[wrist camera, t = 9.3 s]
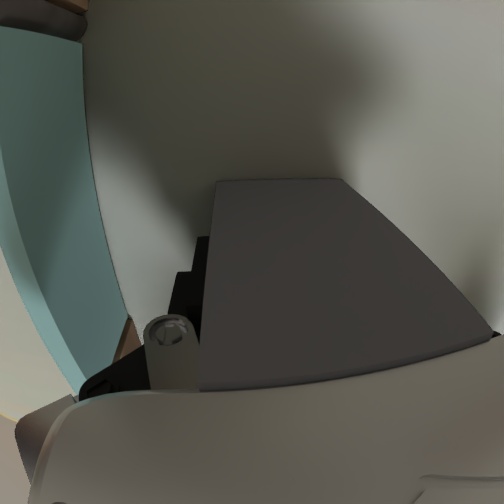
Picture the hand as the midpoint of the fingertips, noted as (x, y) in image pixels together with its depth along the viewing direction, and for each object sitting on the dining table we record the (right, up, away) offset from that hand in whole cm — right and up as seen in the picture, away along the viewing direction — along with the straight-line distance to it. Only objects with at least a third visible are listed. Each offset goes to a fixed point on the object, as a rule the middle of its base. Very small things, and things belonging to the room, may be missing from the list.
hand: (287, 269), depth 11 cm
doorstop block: (0, +1, +2) cm, 2 cm away
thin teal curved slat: (-8, +3, 0) cm, 9 cm away
